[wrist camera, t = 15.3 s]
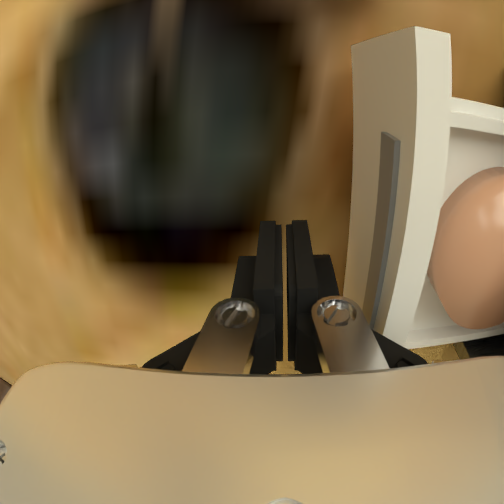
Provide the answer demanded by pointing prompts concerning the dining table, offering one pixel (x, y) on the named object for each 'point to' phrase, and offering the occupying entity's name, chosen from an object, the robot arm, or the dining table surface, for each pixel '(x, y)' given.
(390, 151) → the white drawer
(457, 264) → the pink domed disc
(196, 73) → the dining table surface
